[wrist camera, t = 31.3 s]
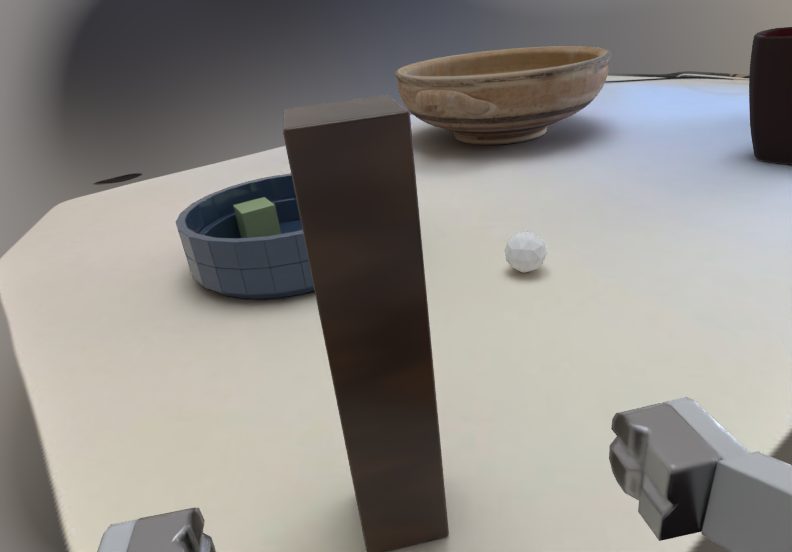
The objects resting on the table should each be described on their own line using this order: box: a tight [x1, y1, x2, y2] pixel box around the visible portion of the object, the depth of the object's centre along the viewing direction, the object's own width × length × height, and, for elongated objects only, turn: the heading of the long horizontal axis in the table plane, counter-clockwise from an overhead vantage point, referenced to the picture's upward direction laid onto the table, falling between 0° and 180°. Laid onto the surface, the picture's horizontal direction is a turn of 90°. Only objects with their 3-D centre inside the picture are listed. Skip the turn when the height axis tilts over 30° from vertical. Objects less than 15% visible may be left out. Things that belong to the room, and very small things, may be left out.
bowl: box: [176, 174, 315, 299], centre depth 45 cm, size 16×16×5 cm
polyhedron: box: [505, 231, 547, 272], centre depth 39 cm, size 3×3×3 cm
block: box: [233, 197, 281, 238], centre depth 49 cm, size 3×3×3 cm
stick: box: [283, 95, 449, 552], centre depth 18 cm, size 3×3×16 cm
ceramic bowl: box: [395, 46, 611, 145], centre depth 75 cm, size 37×29×10 cm
